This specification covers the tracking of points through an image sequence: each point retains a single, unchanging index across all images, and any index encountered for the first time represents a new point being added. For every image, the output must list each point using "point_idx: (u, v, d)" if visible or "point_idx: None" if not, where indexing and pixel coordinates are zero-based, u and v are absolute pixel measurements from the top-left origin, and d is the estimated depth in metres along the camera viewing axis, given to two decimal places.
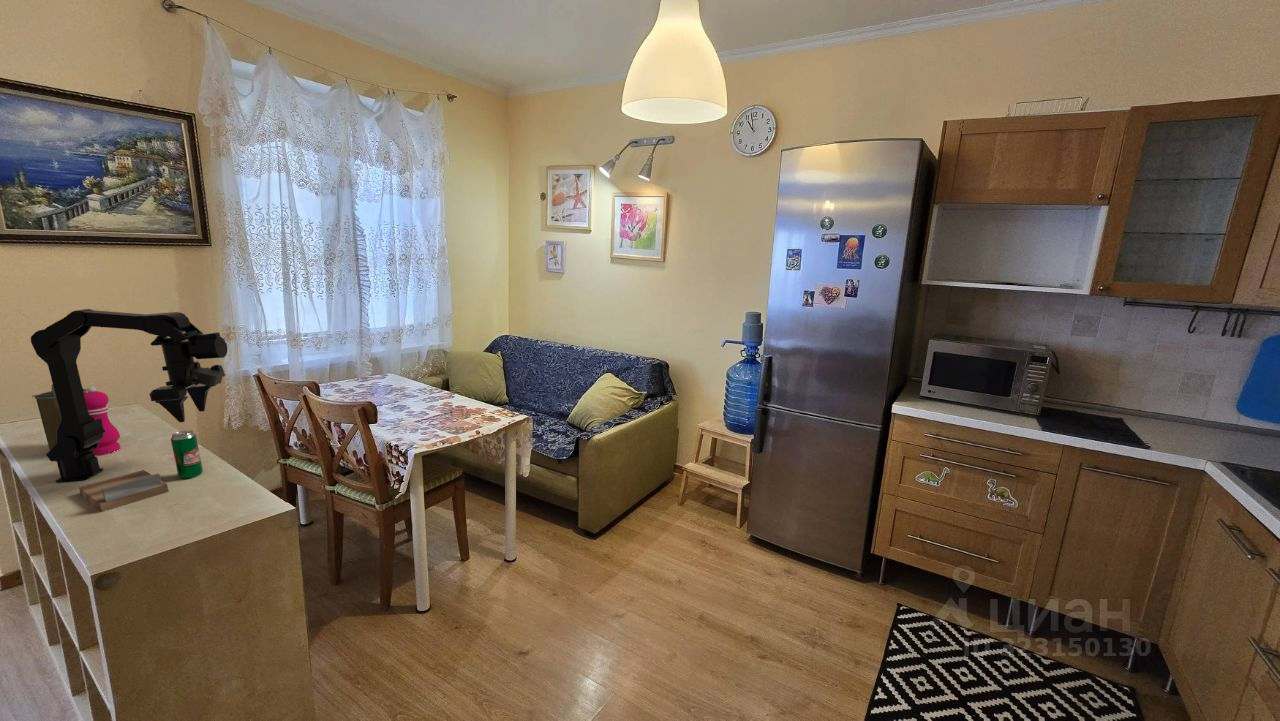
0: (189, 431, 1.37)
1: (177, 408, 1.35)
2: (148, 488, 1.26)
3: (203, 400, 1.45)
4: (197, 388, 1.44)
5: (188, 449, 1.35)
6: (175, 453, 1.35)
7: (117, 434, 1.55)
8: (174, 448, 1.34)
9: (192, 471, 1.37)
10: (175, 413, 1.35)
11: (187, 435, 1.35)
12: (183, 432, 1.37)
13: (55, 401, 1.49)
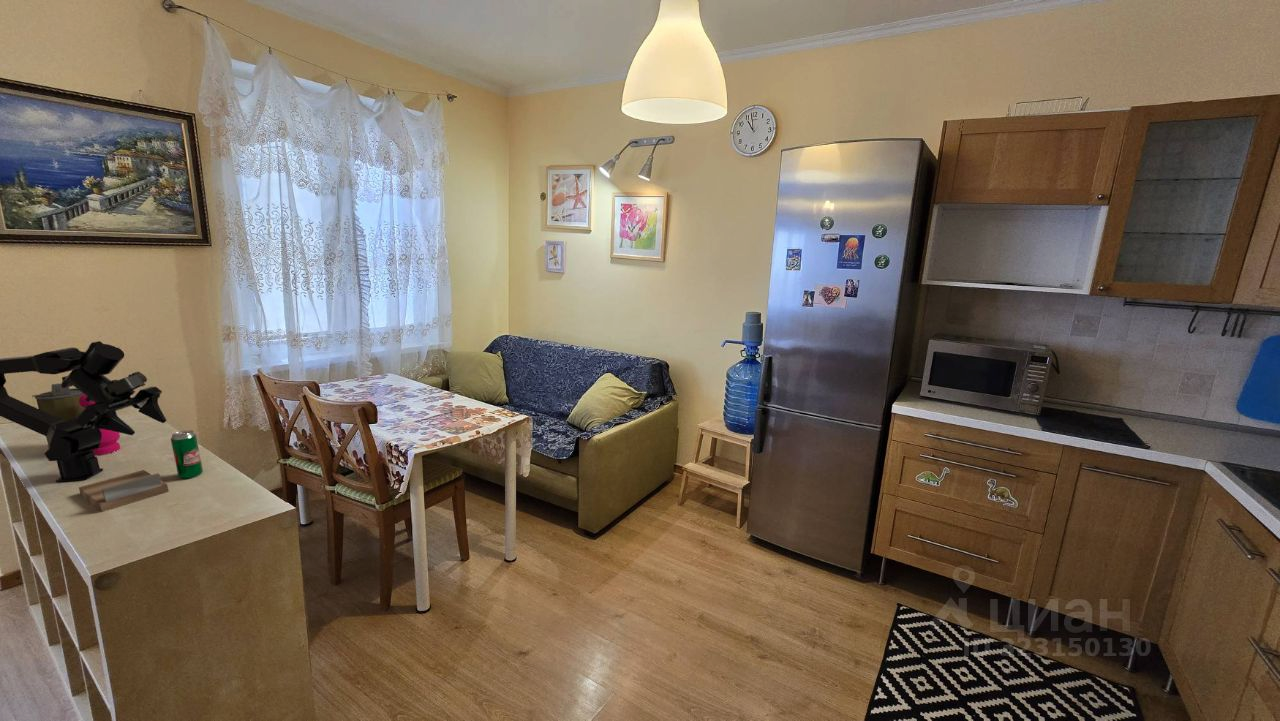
0: (189, 431, 1.37)
1: (115, 423, 1.29)
2: (148, 488, 1.26)
3: (157, 411, 1.39)
4: (145, 405, 1.39)
5: (188, 449, 1.35)
6: (175, 453, 1.35)
7: (117, 434, 1.55)
8: (174, 448, 1.34)
9: (192, 471, 1.37)
10: (120, 429, 1.30)
11: (187, 435, 1.35)
12: (183, 432, 1.37)
13: (55, 401, 1.49)
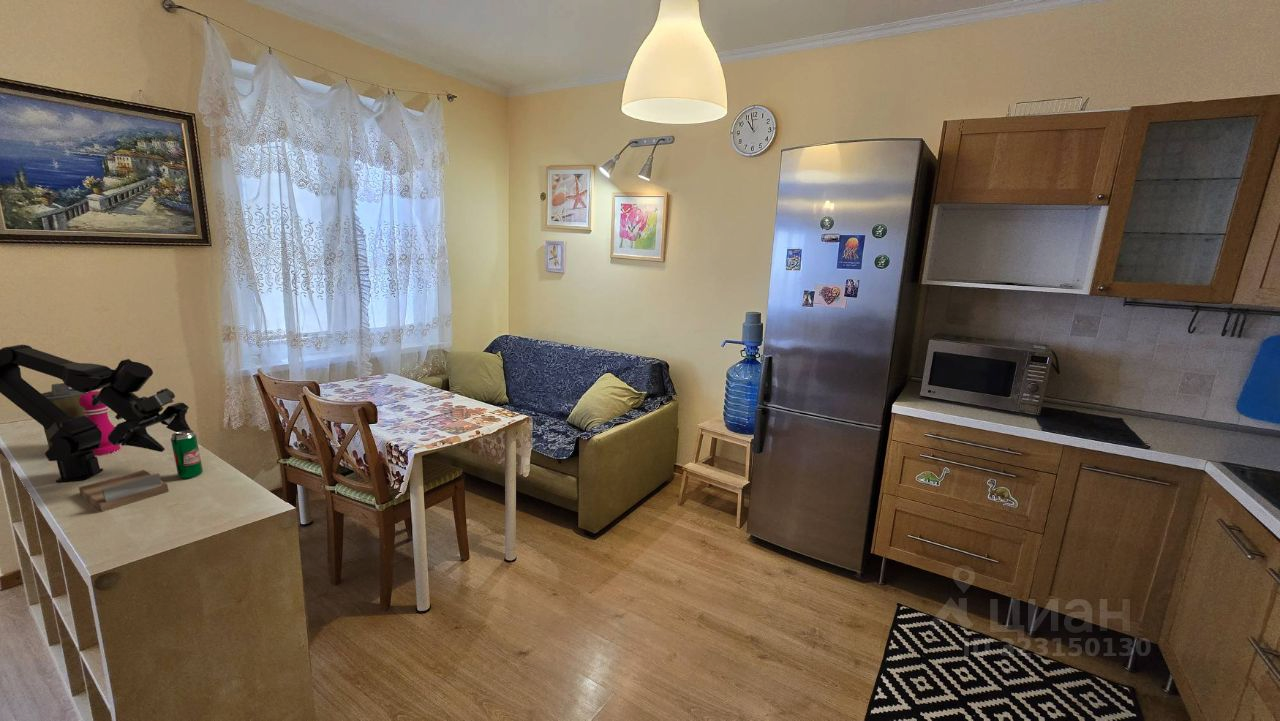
0: (189, 431, 1.37)
1: (146, 440, 1.30)
2: (148, 488, 1.26)
3: (184, 427, 1.41)
4: (173, 421, 1.41)
5: (188, 449, 1.35)
6: (175, 453, 1.35)
7: None
8: (174, 448, 1.34)
9: (192, 471, 1.37)
10: (150, 446, 1.31)
11: (187, 435, 1.35)
12: (183, 432, 1.37)
13: (55, 401, 1.49)
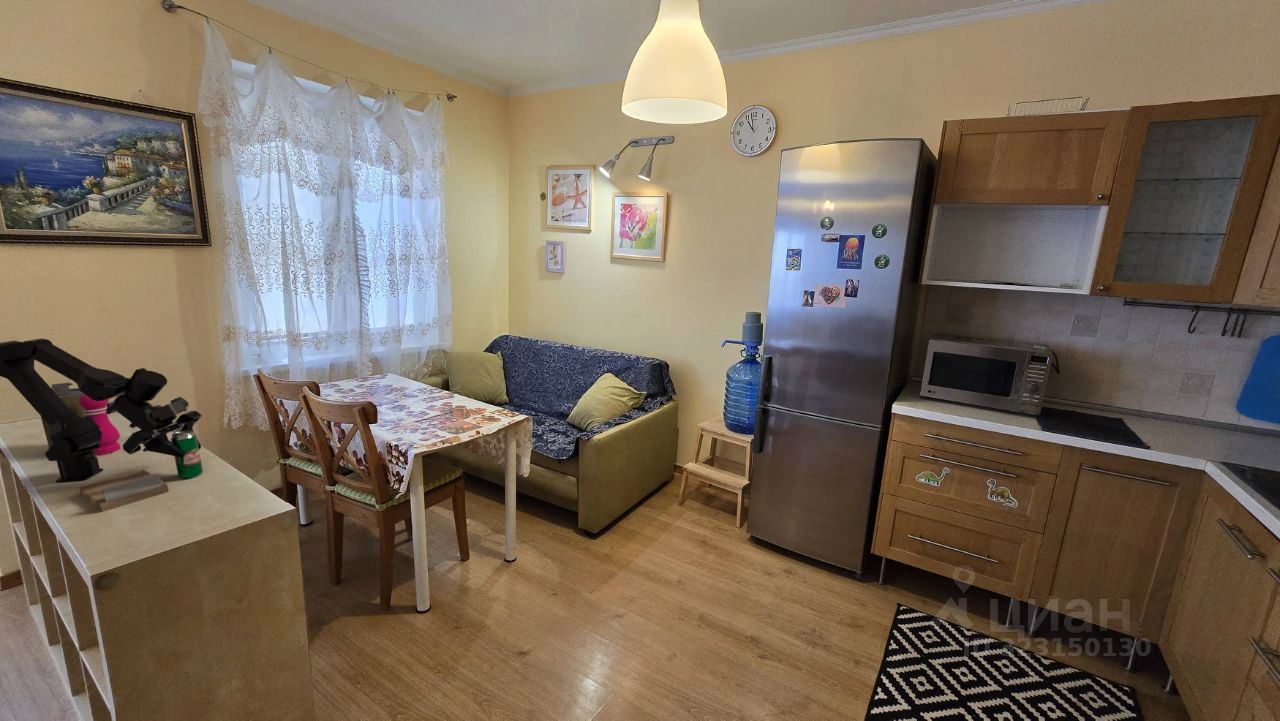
0: (189, 431, 1.37)
1: (166, 446, 1.33)
2: (148, 488, 1.26)
3: None
4: None
5: (188, 449, 1.35)
6: None
7: (117, 434, 1.55)
8: None
9: (192, 471, 1.37)
10: (171, 452, 1.34)
11: (187, 435, 1.35)
12: (183, 432, 1.37)
13: None
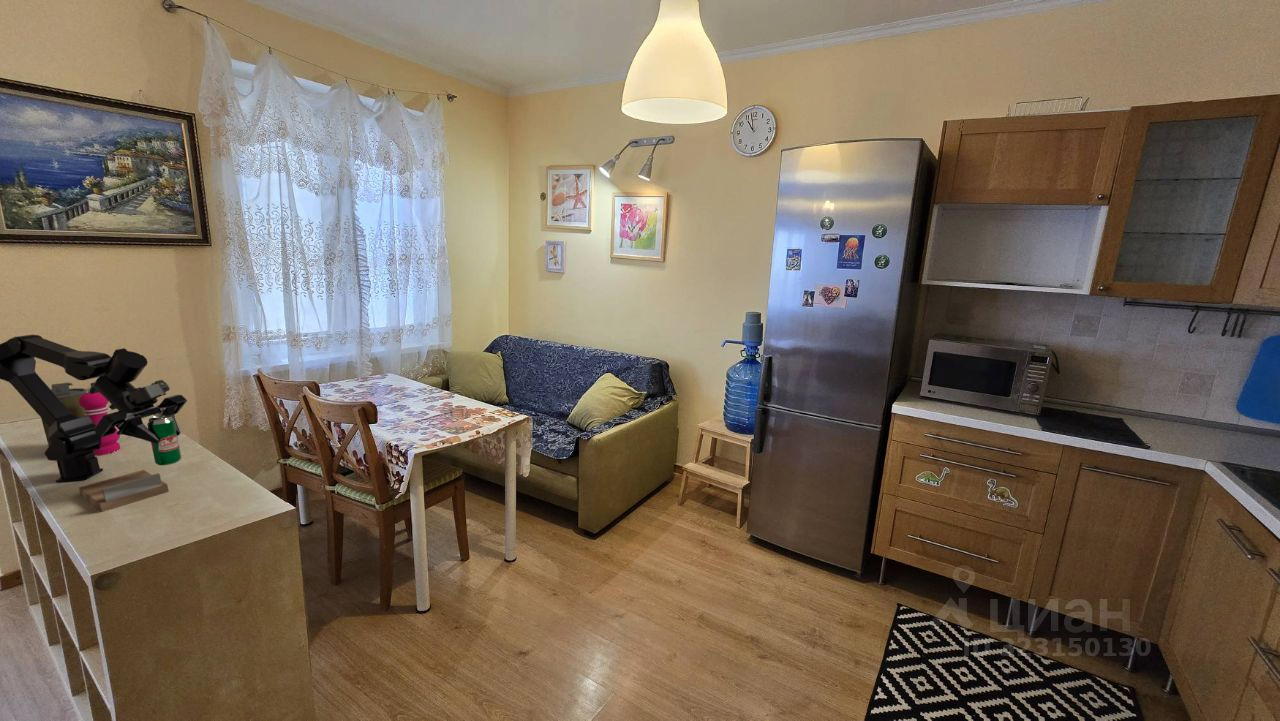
0: (167, 416, 1.32)
1: (141, 431, 1.28)
2: (148, 488, 1.26)
3: None
4: None
5: (163, 434, 1.30)
6: None
7: (117, 434, 1.55)
8: None
9: (167, 458, 1.31)
10: (145, 437, 1.28)
11: (163, 420, 1.30)
12: (161, 417, 1.31)
13: None
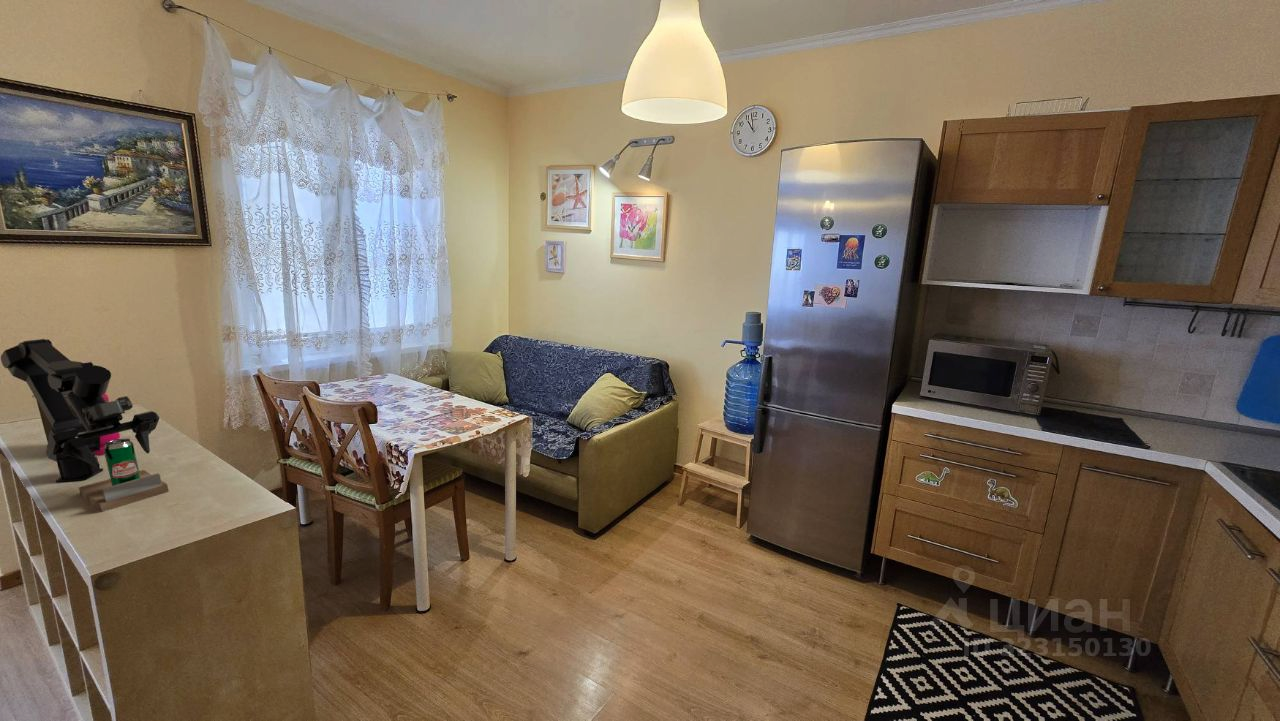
0: (125, 440, 1.25)
1: (82, 453, 1.20)
2: (148, 488, 1.26)
3: (143, 440, 1.28)
4: (137, 431, 1.30)
5: (116, 460, 1.23)
6: None
7: (117, 434, 1.55)
8: (105, 457, 1.23)
9: None
10: (88, 459, 1.20)
11: (116, 445, 1.23)
12: (119, 440, 1.25)
13: None
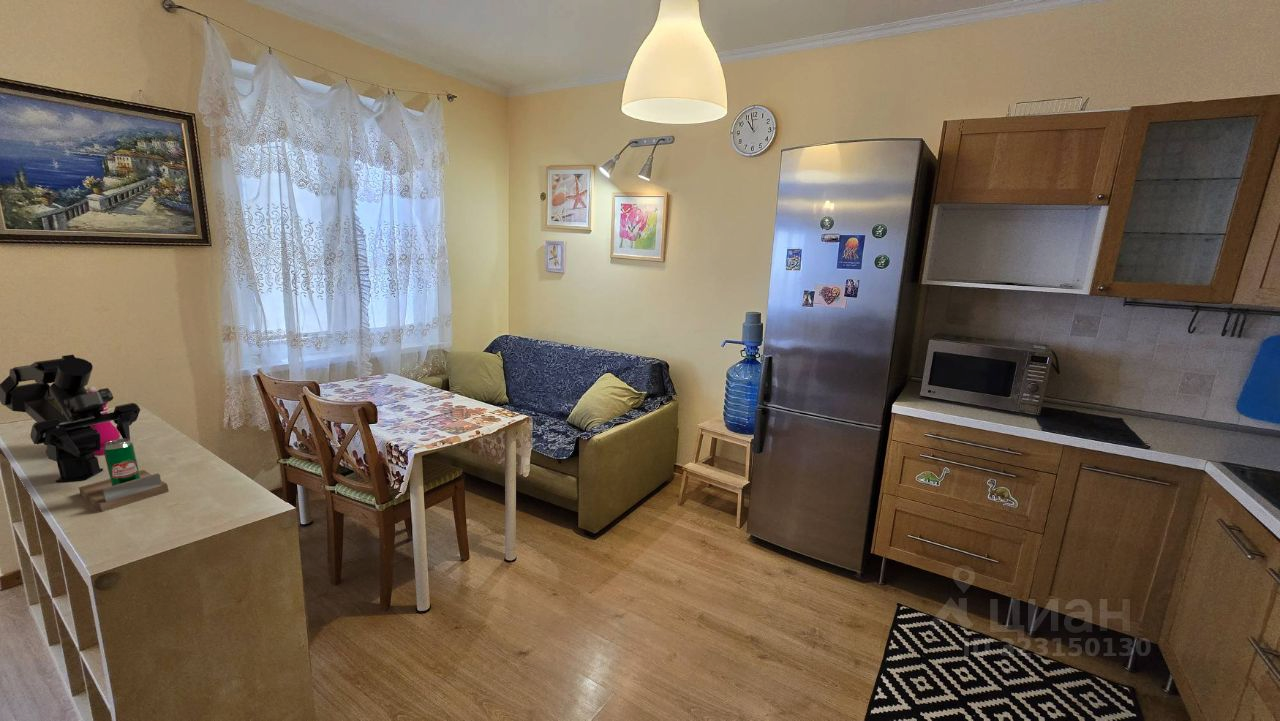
0: (125, 440, 1.25)
1: (64, 443, 1.23)
2: (148, 488, 1.26)
3: (123, 431, 1.32)
4: (118, 422, 1.33)
5: (116, 460, 1.23)
6: None
7: (117, 434, 1.55)
8: (105, 457, 1.23)
9: None
10: (69, 449, 1.24)
11: (116, 445, 1.22)
12: (119, 441, 1.25)
13: (55, 401, 1.49)
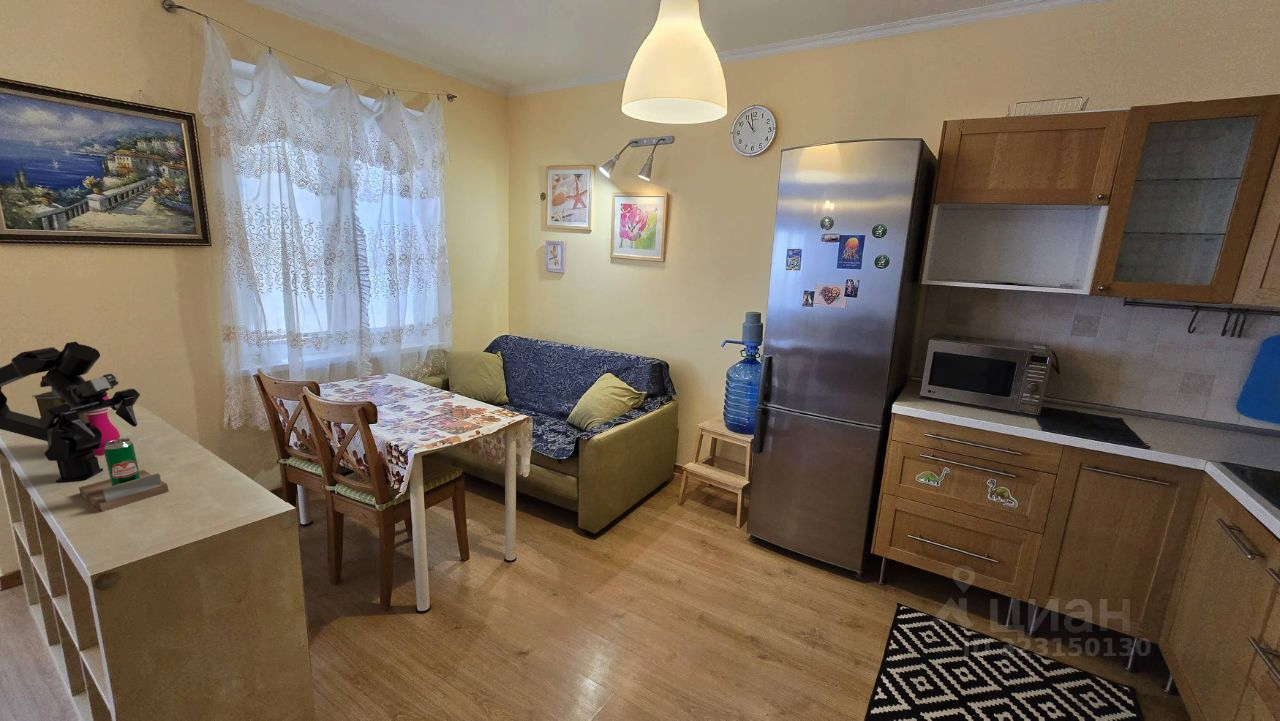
0: (125, 440, 1.25)
1: (76, 426, 1.27)
2: (148, 488, 1.26)
3: (129, 415, 1.37)
4: (120, 407, 1.37)
5: (116, 460, 1.23)
6: None
7: (117, 434, 1.55)
8: None
9: None
10: (82, 432, 1.27)
11: (116, 445, 1.23)
12: (119, 440, 1.25)
13: (55, 401, 1.49)
